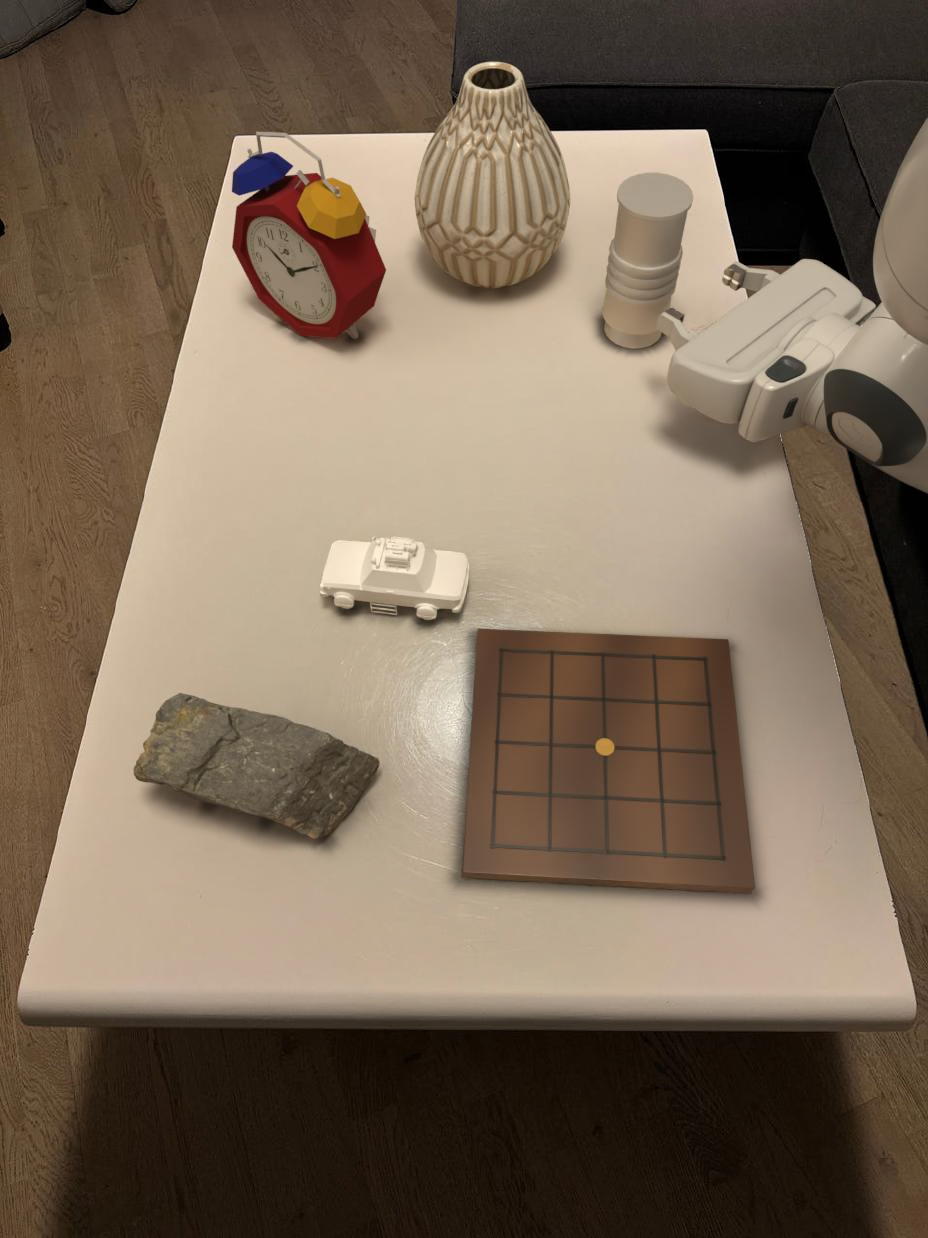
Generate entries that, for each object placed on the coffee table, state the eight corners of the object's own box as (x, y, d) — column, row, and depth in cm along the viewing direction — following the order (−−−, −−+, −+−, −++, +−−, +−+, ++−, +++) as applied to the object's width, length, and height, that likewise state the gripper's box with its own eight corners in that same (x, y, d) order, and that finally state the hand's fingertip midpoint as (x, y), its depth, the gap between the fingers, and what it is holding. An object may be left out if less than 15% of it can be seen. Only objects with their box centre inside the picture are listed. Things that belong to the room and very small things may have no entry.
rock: (114, 836, 63) (129, 691, 66) (152, 844, 70) (163, 711, 73) (368, 833, 62) (371, 686, 65) (382, 841, 69) (384, 707, 72)
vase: (543, 324, 97) (555, 135, 81) (398, 295, 100) (381, 107, 83) (580, 233, 106) (598, 44, 89) (445, 209, 108) (438, 22, 92)
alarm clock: (246, 309, 99) (198, 122, 83) (300, 266, 103) (265, 79, 86) (354, 365, 94) (327, 178, 78) (407, 318, 98) (391, 130, 81)
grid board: (725, 646, 76) (728, 638, 75) (751, 893, 65) (755, 888, 64) (477, 636, 77) (477, 627, 76) (462, 878, 66) (462, 872, 65)
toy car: (335, 556, 81) (324, 505, 76) (472, 571, 80) (472, 521, 75) (319, 613, 78) (307, 564, 73) (462, 630, 77) (460, 582, 71)
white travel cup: (680, 324, 97) (709, 189, 84) (642, 361, 94) (666, 227, 82) (624, 297, 99) (644, 162, 87) (586, 332, 97) (601, 198, 84)
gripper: (901, 284, 83) (773, 215, 88) (757, 398, 75) (627, 315, 81) (876, 340, 88) (756, 272, 94) (739, 452, 81) (618, 371, 86)
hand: (695, 293), depth 87 cm, fingers open, 8 cm apart
